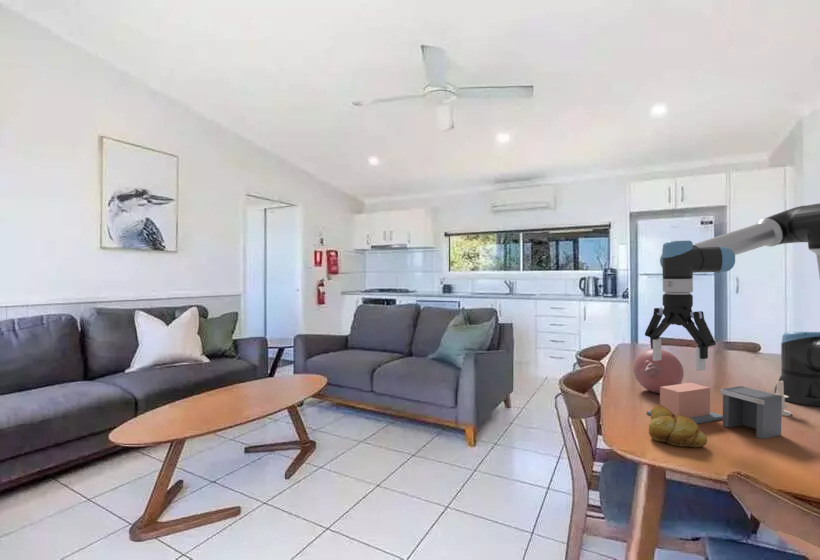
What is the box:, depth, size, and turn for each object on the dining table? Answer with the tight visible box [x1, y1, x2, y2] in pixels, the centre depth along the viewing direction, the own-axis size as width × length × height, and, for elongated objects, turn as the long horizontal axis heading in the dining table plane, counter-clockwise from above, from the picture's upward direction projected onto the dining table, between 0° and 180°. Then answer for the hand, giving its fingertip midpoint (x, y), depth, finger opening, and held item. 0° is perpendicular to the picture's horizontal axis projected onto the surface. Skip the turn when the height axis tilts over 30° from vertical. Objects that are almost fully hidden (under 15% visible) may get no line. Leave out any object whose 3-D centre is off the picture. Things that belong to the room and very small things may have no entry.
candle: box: [776, 380, 792, 417], centre depth 128 cm, size 5×5×10 cm
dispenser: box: [719, 385, 783, 440], centre depth 114 cm, size 8×10×10 cm
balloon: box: [633, 349, 685, 394], centre depth 148 cm, size 15×20×15 cm
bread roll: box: [648, 404, 708, 448], centre depth 107 cm, size 13×10×8 cm
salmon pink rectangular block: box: [659, 382, 711, 418], centre depth 125 cm, size 13×6×8 cm, turn 110°
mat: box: [646, 410, 723, 425], centre depth 125 cm, size 18×11×1 cm, turn 110°
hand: (677, 364), depth 124 cm, fingers open, 13 cm apart
